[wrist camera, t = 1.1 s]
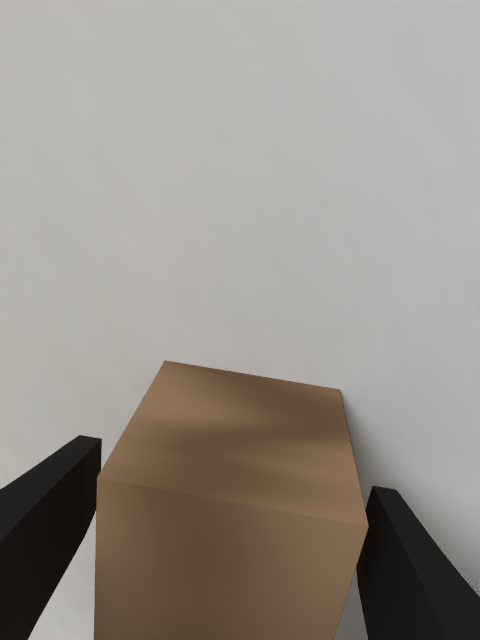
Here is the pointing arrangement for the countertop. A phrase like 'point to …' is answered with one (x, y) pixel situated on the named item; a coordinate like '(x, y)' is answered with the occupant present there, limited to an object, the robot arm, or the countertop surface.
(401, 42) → the countertop surface
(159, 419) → the walnut cube
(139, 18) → the countertop surface
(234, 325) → the countertop surface
